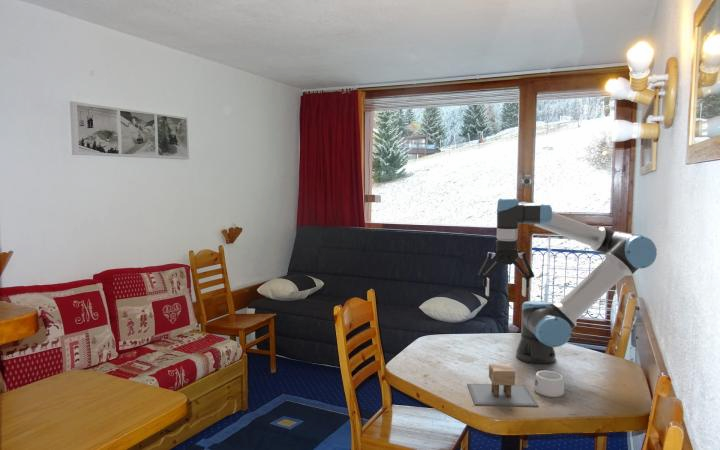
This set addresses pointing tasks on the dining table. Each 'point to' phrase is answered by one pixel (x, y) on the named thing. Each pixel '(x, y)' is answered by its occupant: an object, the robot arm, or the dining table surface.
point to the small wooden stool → (501, 378)
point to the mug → (549, 383)
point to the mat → (501, 396)
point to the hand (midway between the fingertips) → (505, 295)
